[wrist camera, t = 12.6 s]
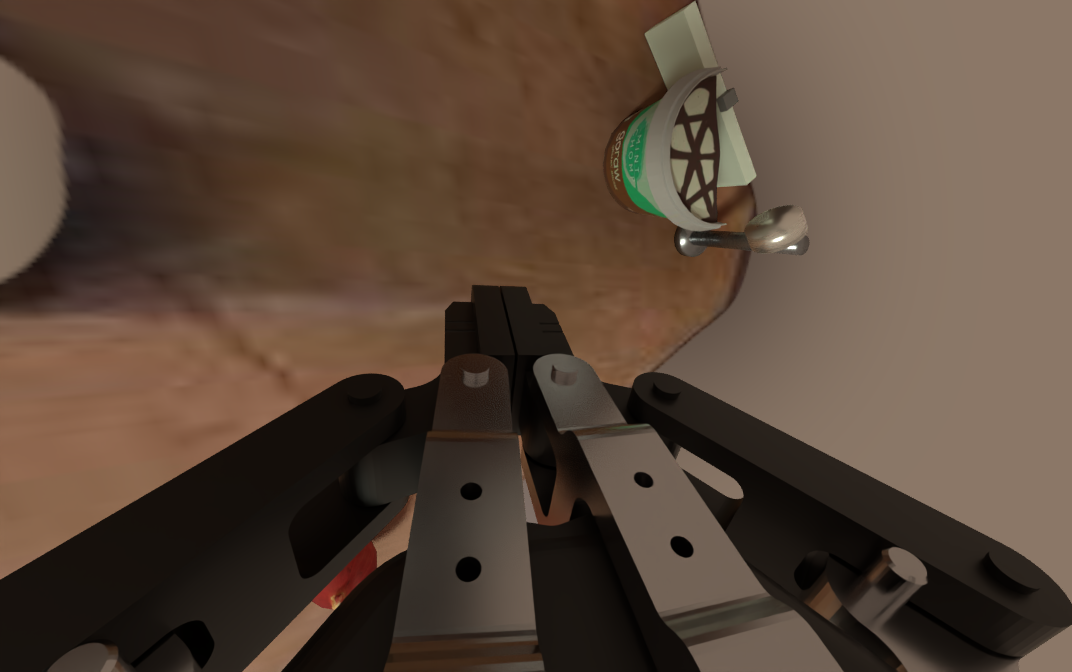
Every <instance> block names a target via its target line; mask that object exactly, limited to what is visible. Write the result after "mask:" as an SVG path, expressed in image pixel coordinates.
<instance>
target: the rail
mask: <svg viewBox="0 0 1072 672" xmlns="http://www.w3.org/2000/svg"><path fill="white" fill-rule="evenodd" d="M645 37H646V39H647V41H648V44H649V46H650V49H651V51H652V53H653V56H654V58H655V61H656V63H657V66H658V68H659V70H660V73H661V75H662V78H663V80H664V82H665V85H666V87H667V90H669V89H670V88H671V87H672V86H673V85H674V84H675V83H676V82H677V81H678V80H679V79H681V78H682V77H684V76H685V75H687V74H689V73H691V72H693V71H696V70H699V69H704V68H712V67H718V64H717V61H716V58H715V56H714V53H713V50H712V47H711V44H710V41H709V38H708V36H707V33H706V30H705V27H704V24H703V21H702V18H701V16H700V13H699V10H698V7H697V4H696V1H694V2H692V3H691V4H689V5H687V6H686V7H684V8H682V9H681V10H679V11H678V12H676V13H674V14H673V15H671V16H669V17H668V18H666V19H665V20H663V21H661V22H660V23H658V24H656V25H655V26H654V27H652V28H651V29H650V30H649V31H647V32H646V33H645ZM737 102H738V98H737V95H736V93H735V90H734V88H732V89H729V90H726V87H725V84H724V81H723V78H722V76H721V73H719V74H718V75H717V86H716V111H717V125H718V133H719V142H720V163H719V172H718V181H717V187H725V186H739V185H747V184H749V183H750V182H751V181H752V180H753V179H754V178H755V177H756V173H755V170H754V167H753V164H752V161H751V159H750V156H749V153H748V150H747V148H746V144H745V142H744V139H743V136H742V133H741V130H740V128H739V124H738V121H737V119H736V116H735V113H734V110H733V107H732V106H734V105H735V104H736V103H737Z"/></svg>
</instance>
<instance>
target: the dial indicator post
mask: <svg viewBox="0 0 1072 672" xmlns="http://www.w3.org/2000/svg"><path fill="white" fill-rule="evenodd" d="M807 231H808V226H807V223H806V220H805V216H804V213H803V210H802V209H801V208H800V207H798V206H794V205H787V206H781V207H776V208H773V209H770V210H768V211H765V212H763V213H761V214H759V215H758V216H756V217H755V218H753V219H752V220H751V221H750V222H749V223H748V224H747V225H746V227H745V230H744V232H728V231H710V230H707V231H690V230H687V229H684V228H681V227H680V226H678V228H677V230H676V232H675V237H674V243H675V247H676V249H677V251H678V252H679V253H680V254H681V255H684V256H691V257H695V256H698V255H700V254H701V253H703V252H704V251H705V249H706V248H707V247H718V248H729V249H739V250H750V251H754V252H757V253H782V254H793V255H803V254H804V253H806V251H807V249H808V247H809V238H808V237H807V236H806V234H807Z"/></svg>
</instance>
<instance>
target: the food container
mask: <svg viewBox="0 0 1072 672" xmlns="http://www.w3.org/2000/svg"><path fill="white" fill-rule="evenodd" d="M725 70H727V68H725V69H720V67H712V68H704V69H699V70H696V71H693V72H691V73H689V74H687V75H685V76H684V77H682V78H681V79H679V80H678V81H677V82H676V83H675V84H674V85H673V86H672V87H671V88H670V89H669V90H668V91H667V93H666V94H665V95H664V97H663V98H662V99H660V100H658V101H656V102H655V103H653V104H651V105H649V106H647V107H646V108H644V109H642V110H640V111H638V112H636V113H635V114H633V115H631V116H630V117H628V118H627V119H625V120H624V121H622V122H621V123H620V124H619V125H618V127H617V128H616V129H615V130H614V132H613V133H612V134H611V137H610V139H609V142H608V144H607V147H606V149H605V155H604V162H603V164H604V176H605V181H606V184H607V187H608V189H609V191H610V194H611V195H612V197H613V198H614V200H615V201H616V202H617V203H618V204H619V205H620V206H622V207H623V208H624V209H626V210H628V211H630V212H634V213H638V214H644V215H650V216H656V217H662V218H667V219H669V220H671V221H672V222H673V223H674V224H676V225H678V226H680V227H681V228H684V229H687V230H690V231H707V230H712V229H717V228H720V225H727V224H725V223H720V222H717V214H718V212H717V203H716V202H717V181H718V172H719V163H720V142H719V133H718V125H717V111H716V86H717V75H718V74H719V73H721V72H723V71H725Z"/></svg>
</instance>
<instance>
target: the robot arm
mask: <svg viewBox="0 0 1072 672" xmlns="http://www.w3.org/2000/svg"><path fill="white" fill-rule="evenodd" d="M518 435H521V438H522V450H521V458H520V449H519V439H518ZM681 447H683V448H684V449H686V450H688V451H689V452H691V453H693V454H694V455H696V456H698V457H699V458H701V459H703V460H704V461H706V462H708V463H709V464H711V465H712V466H714V467H716V468H718V469H719V470H721V471H722V472H724V473H726V474H727V475H729V476H731V477H732V478H734V479H735V480H736V481H737V482H738V483H739V485H740V486H741V488H742V490H743V494H744V497H743V498H741V499H732V498H729V497H726V496H725V495H723V494H721V493H720V492H718V491H717V490H715V489H713V488H712V487H710V486H709V485H707V484H706V483H704V482H702V481H701V480H699V479H698V478H696V477H694V476H693V475H691V474H690V473H688V472H687V471H685V470H683V469H682V468H681V467H680V466H679V464H678V463H677V462H676V458H677V455H678V453H679V451H680V448H681ZM521 465H522V469H523V472H524V476H525V479H526V483H527V486H528V490H529V493H530V497H531V500H532V504H533V507H534V511H535V514H536V518H537V522H538V524H535V523H528V522H526V515H525V503H524V493H523V481H522V470H521ZM415 493H417V496H416V502H415V508H414V514H413V520H412V526H411V532H410V538H409V544H408V550H406V551H404V552H402V553H400V554H398V555H396V556H395V557H393V558H391V559H390V560H388V561H386V562H385V563H383V564H382V565H381V566H379V567H378V568H377V569H375V570H374V571H373V572H372V573H370V574H369V575H368V576H367V577H366V578H365V579H364V580H362V581H361V582H360V583H359V584H358V585H357V586H356V587H355V588H354V589H353V590H352V591H351V592H350V593H349V594H348V595H347V597H346V598H345V599H344V600H343V601H342V602H341V603H340V605H339V606H338V607H337V608H336V609H335V610H334V611H333V613H332V614H331V615H330V616H329V617H328V618H327V620H326V621H325V622H324V623H323V624H322V625H321V626H320V628H319V629H318V630H317V631H316V632H315V633H314V634H313V636H312V637H311V638H310V639H309V640H308V641H307V643H306V644H305V645H304V646H303V647H302V648H301V649H300V651H299V652H298V653H297V654H296V655H295V656H294V658H293V659H292V660H291V661H290V662H289V663H288V664H287V666H286V667H285V668H284V669H283V670H282V671H281V672H1019V666H1018V662H1019V660H1020V659H1021V658H1022V657H1024V656H1025V655H1027V654H1028V653H1030V652H1031V651H1032V650H1034V649H1036V648H1037V647H1039V646H1040V645H1042V644H1043V643H1045V642H1046V641H1048V640H1049V639H1051V638H1052V637H1054V636H1055V635H1057V634H1058V633H1060V632H1061V631H1063V630H1064V629H1066V628H1067V627H1069V626H1070V625H1072V604H1071V602H1070V600H1069V599H1068V597H1067V596H1066V594H1065V593H1064V592H1063V590H1062V589H1061V588H1060V587H1059V586H1058V585H1057V584H1056V583H1055V582H1054V581H1053V580H1052V579H1051V578H1050V577H1049V576H1048V575H1047V574H1046V573H1045V572H1043V571H1042V570H1041V569H1040V568H1039V567H1037V566H1036V565H1035V564H1034V563H1032V562H1031V561H1030V560H1028V559H1026V558H1025V557H1024V556H1022V555H1021V554H1019V553H1017V552H1016V551H1014V550H1013V549H1011V548H1009V547H1007V546H1005V545H1004V544H1002V543H1000V542H998V541H995V540H994V539H992V538H990V537H988V536H986V535H984V534H982V533H980V532H978V531H976V530H974V529H972V528H970V527H968V526H966V525H965V524H963V523H961V522H959V521H956V520H955V519H953V518H951V517H949V516H947V515H945V514H943V513H941V512H939V511H937V510H935V509H933V508H931V507H929V506H927V505H925V504H923V503H921V502H919V501H917V500H916V499H914V498H912V497H910V496H908V495H906V494H904V493H902V492H900V491H898V490H896V489H894V488H892V487H890V486H888V485H886V484H884V483H882V482H880V481H878V480H876V479H874V478H872V477H870V476H869V475H867V474H865V473H863V472H860V471H859V470H857V469H855V468H853V467H851V466H849V465H847V464H845V463H843V462H841V461H839V460H837V459H835V458H833V457H831V456H829V455H827V454H825V453H823V452H821V451H819V450H818V449H815V448H814V447H812V446H810V445H807V444H806V443H804V442H802V441H800V440H798V439H796V438H794V437H792V436H790V435H788V434H786V433H784V432H782V431H780V430H778V429H776V428H774V427H772V426H770V425H769V424H766V423H765V422H762V421H761V420H759V419H757V418H755V417H753V416H751V415H749V414H747V413H745V412H743V411H741V410H739V409H737V408H735V407H733V406H731V405H729V404H727V403H725V402H723V401H722V400H719V399H718V398H716V397H714V396H712V395H710V394H708V393H706V392H704V391H702V390H700V389H698V388H696V387H694V386H692V385H690V384H688V383H686V382H684V381H682V380H680V379H678V378H676V377H674V376H671V375H668V374H664V373H657V372H649V373H644V374H641V375H639V376H637V377H636V378H635V380H634V383H633V386H632V388H628V387H623V386H618V385H613V384H608V383H604V382H601V381H600V379H599V377H598V376H597V374H596V372H595V371H594V369H593V368H592V367H591V366H590V365H589V364H588V363H587V362H585V361H583V360H582V359H580V358H577V357H574V355H573V353H572V351H571V348H570V346H569V344H568V342H567V340H566V337H565V335H564V333H563V331H562V328H561V326H560V325H559V322H558V320H557V317H556V315H555V313H554V312H553V311H552V310H550V309H549V308H548V307H547V306H545V305H544V304H532V302H531V299H530V296H529V294H528V291H527V288H526V287H515V286H500V287H499V286H485V285H472V292H471V302H452V304H451V305H450V306H449V307H448V308H447V309H446V310H445V364H444V365H443V367H442V370H441V374H440V375H439V376H438V377H437V378H435V379H434V380H432V381H430V382H428V383H426V384H424V385H421V386H417V387H413V388H409V389H405V390H404V388H403V386H402V385H401V383H400V382H399V381H397V380H396V379H394V378H392V377H390V376H387V375H382V374H361V375H355V376H352V377H349V378H346V379H344V380H342V381H340V382H338V383H336V384H334V385H333V386H331V387H329V388H328V389H326V390H324V391H322V392H321V393H319V394H317V395H316V396H314V397H312V398H310V399H309V400H307V401H305V402H304V403H302V404H300V405H298V406H297V407H295V408H293V409H292V410H290V411H288V412H286V413H285V414H283V415H281V416H280V417H278V418H276V419H274V420H273V421H271V422H269V423H268V424H266V425H264V426H262V427H261V428H259V429H257V430H256V431H254V432H252V433H251V434H249V435H247V436H245V437H244V438H242V439H240V440H239V441H237V442H235V443H233V444H232V445H230V446H228V447H227V448H225V449H223V450H221V451H220V452H218V453H216V454H215V455H213V456H211V457H209V458H208V459H206V460H204V461H203V462H201V463H199V464H197V465H196V466H194V467H192V468H191V469H189V470H187V471H186V472H184V473H182V474H180V475H179V476H177V477H175V478H174V479H172V480H170V481H168V482H167V483H165V484H163V485H162V486H160V487H158V488H156V489H155V490H153V491H151V492H150V493H148V494H146V495H144V496H143V497H141V498H139V499H138V500H136V501H134V502H132V503H131V504H129V505H127V506H126V507H124V508H122V509H121V510H119V511H117V512H115V513H114V514H112V515H110V516H109V517H107V518H105V519H103V520H102V521H100V522H98V523H97V524H95V525H93V526H91V527H90V528H88V529H86V530H85V531H83V532H81V533H79V534H78V535H76V536H74V537H73V538H71V539H69V540H67V541H66V542H64V543H62V544H61V545H59V546H57V547H56V548H54V549H52V550H50V551H49V552H47V553H45V554H44V555H42V556H40V557H38V558H37V559H35V560H33V561H32V562H30V563H28V564H26V565H25V566H23V567H21V568H20V569H18V570H16V571H14V572H13V573H11V574H9V575H8V576H6V577H4V578H2V579H1V580H0V672H242V671H243V670H244V669H245V668H246V667H247V666H248V665H249V664H250V663H251V662H252V661H253V660H254V659H255V658H256V657H257V656H258V655H259V654H260V653H261V652H262V651H263V650H264V649H265V648H266V647H267V646H268V645H269V644H270V643H271V642H272V641H273V640H274V639H275V638H276V637H277V636H278V635H279V634H280V633H281V632H282V631H283V630H284V629H285V628H286V627H287V626H288V625H289V624H290V623H291V621H292V620H293V619H294V618H295V617H296V616H297V615H298V614H299V613H300V612H301V611H302V610H303V609H304V608H305V607H306V606H307V605H308V604H309V603H310V602H311V601H312V600H313V599H314V598H315V597H316V596H317V595H318V594H319V593H320V592H321V591H322V590H323V589H324V588H325V587H326V586H327V585H328V584H329V583H330V582H331V581H332V580H333V579H334V578H335V577H336V576H337V575H338V574H339V573H340V572H341V571H342V570H343V569H344V568H345V567H346V566H347V565H348V564H349V563H350V562H351V561H352V560H353V559H354V558H355V556H356V555H357V554H358V553H359V552H360V551H361V550H362V549H363V548H364V547H365V546H366V545H367V544H368V543H369V542H370V541H371V540H372V539H373V538H374V537H375V536H376V535H377V534H378V533H379V532H380V531H381V530H382V529H383V528H384V527H385V526H386V525H387V524H388V523H389V522H390V521H391V520H392V519H393V518H394V517H395V516H396V515H397V514H398V513H399V512H400V511H401V510H402V508H403V507H404V506H405V504H406V503H407V501H408V498H409V495H412V494H415Z"/></svg>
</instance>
